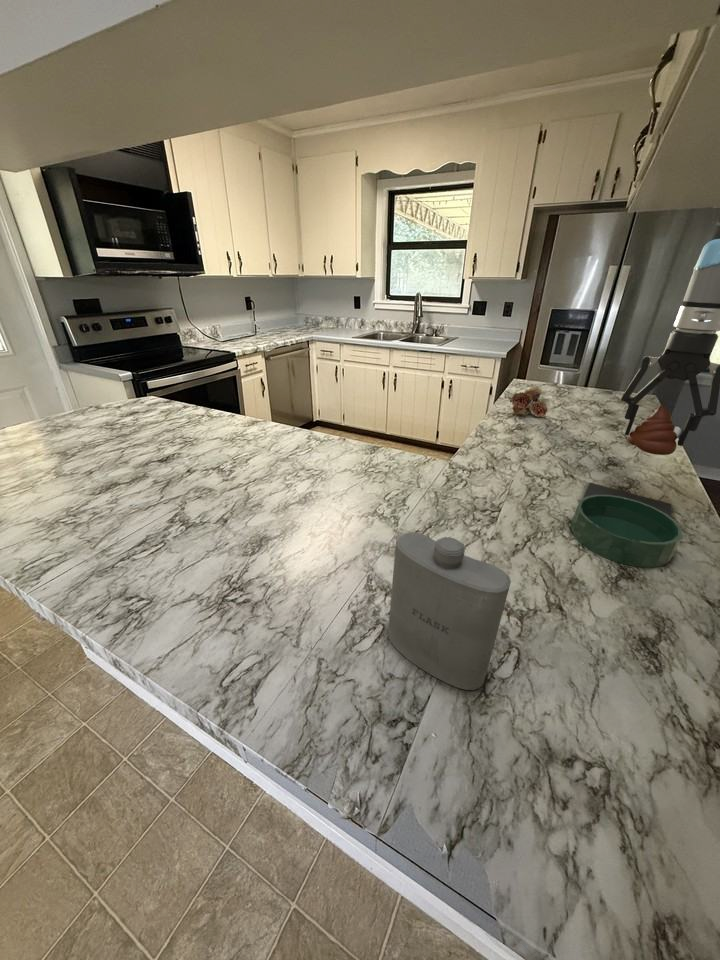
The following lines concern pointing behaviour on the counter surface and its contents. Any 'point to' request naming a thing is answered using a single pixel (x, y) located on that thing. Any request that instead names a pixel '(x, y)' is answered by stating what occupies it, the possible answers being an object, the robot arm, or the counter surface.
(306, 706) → the counter surface
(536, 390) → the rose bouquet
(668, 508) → the mat
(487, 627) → the flask
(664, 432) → the poop emoji
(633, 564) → the green round dish
